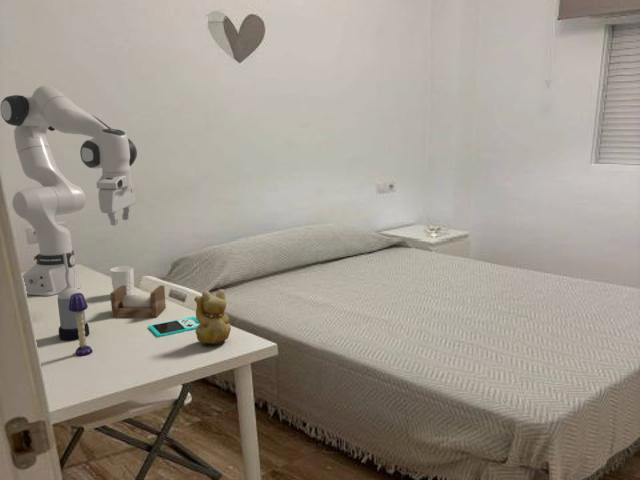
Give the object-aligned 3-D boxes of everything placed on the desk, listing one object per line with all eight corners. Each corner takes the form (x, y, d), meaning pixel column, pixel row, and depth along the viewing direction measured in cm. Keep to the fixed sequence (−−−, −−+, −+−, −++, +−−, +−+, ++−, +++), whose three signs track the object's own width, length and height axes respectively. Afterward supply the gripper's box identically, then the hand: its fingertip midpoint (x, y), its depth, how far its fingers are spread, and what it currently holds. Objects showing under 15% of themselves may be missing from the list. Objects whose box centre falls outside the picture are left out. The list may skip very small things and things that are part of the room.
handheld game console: (210, 328, 168) (210, 323, 168) (157, 339, 160) (157, 334, 159) (198, 319, 176) (198, 314, 176) (148, 329, 168) (147, 325, 168)
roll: (123, 313, 179) (120, 300, 177) (129, 304, 184) (126, 292, 182) (152, 313, 179) (149, 300, 177) (157, 304, 183) (154, 292, 181)
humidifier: (60, 333, 164) (50, 251, 159) (89, 329, 167) (81, 248, 162) (57, 342, 157) (47, 257, 152) (89, 338, 160) (80, 254, 155)
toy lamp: (93, 354, 148) (87, 295, 145) (74, 358, 146) (68, 297, 142) (91, 348, 152) (85, 290, 149) (72, 352, 150) (66, 293, 147)
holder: (112, 317, 177) (110, 293, 175) (123, 308, 186) (121, 285, 184) (156, 317, 176) (154, 293, 175) (165, 308, 185) (164, 285, 183)
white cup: (120, 300, 195) (118, 272, 193) (108, 296, 200) (105, 269, 198) (140, 294, 201) (137, 268, 199) (127, 291, 206) (125, 265, 204)
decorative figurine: (226, 334, 161) (224, 285, 158) (236, 344, 154) (233, 292, 151) (193, 341, 156) (190, 290, 153) (202, 351, 149) (198, 298, 146)
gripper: (120, 176, 189) (123, 216, 192) (93, 183, 169) (97, 228, 172) (138, 176, 189) (141, 216, 192) (113, 184, 169) (117, 228, 172)
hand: (120, 222), depth 182 cm, fingers open, 8 cm apart
